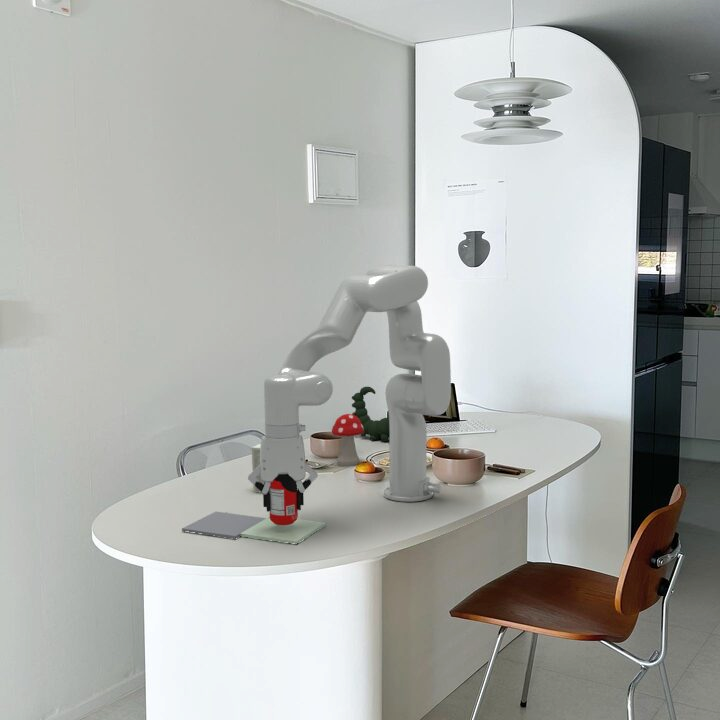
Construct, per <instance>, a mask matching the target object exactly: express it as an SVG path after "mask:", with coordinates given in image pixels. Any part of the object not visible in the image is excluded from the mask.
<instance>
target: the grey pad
mask: <svg viewBox="0 0 720 720" xmlns="http://www.w3.org/2000/svg"><path fill="white" fill-rule="evenodd" d="M266 518H267V517H261V516H260V517H259V516H252V515H246V514H237V513H232V512H231V513H230V512H222V511H213V512H212V513H210V514H208V515H206V516H204V517H202V518H200V519H198V520H196V521H193V522H192V523H190V524H188V525H185V526H184V527H182V528H181V532H182V531H189V532H195V533H202V534H207V535H215V536H220V537H226V538H225V539H227V538H233V539H232V540H234V539H236V538H238V537H239V538H241V537H240V533H242V532H244V531H245V530H247V529H249V528H251V527H252V526H254V525H256V524H258V523H259V522H261V521H263V520H265V519H266ZM207 535H206V536H207ZM220 537H219V538H220ZM239 538H238V539H239ZM236 540H237V539H236Z"/></svg>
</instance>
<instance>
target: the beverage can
mask: <svg viewBox="0 0 720 720" xmlns="http://www.w3.org/2000/svg"><path fill="white" fill-rule="evenodd" d="M297 489H298V487H297V484H296V481H295V480H294V479H293V478H292V477H291V476H289V473H278V476H277V477H276V478H274V479H273V481H272V482H270V487H269V494H270V511H269V517H270V520H271V521H272V522H273V523H274V524H276V525H290V524H293V523H294V522H295V521H296V520H297V519H298V518H299V517H298V515H299V513H298V511H299V510H298V509H297Z"/></svg>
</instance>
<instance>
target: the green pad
mask: <svg viewBox="0 0 720 720" xmlns="http://www.w3.org/2000/svg"><path fill="white" fill-rule="evenodd" d="M265 518H266V519H265V520H263V521H261V522H259V523H258V524H256V525H254V526H252V527H251V528H249V529H247V530H245V531H244V532H242V533H240V536H241V537H240V538H244V537H248V538H247V539H251V538H255V539H254V540H258V539H263V540H262V541H265V540H272V541H280V542H288V543H295V544H297V543H299V542H300V541H302V540H303V539H305V538H306V539H308V538H309V537H311V536H312V535H314V534H315V533H317V532H318V531H319V529H320V528H321V529H322V527H323V526H324V527H325V525H326V523H325V522H320V521H313V520H305V519H298V518H297V520H296V521H295V522H294V523H293V524H290V525H276V524H274V523H273V522H272V521H271V520H270V516H269V517H265ZM324 527H323V528H324ZM321 529H320V530H321ZM317 530H318V531H317ZM316 531H317V532H316ZM314 532H315V533H314ZM313 533H314V534H313ZM311 534H312V535H311ZM310 535H311V536H310ZM308 536H309V537H308ZM307 537H308V538H307ZM306 539H305V540H306ZM272 541H271V542H272ZM303 541H304V540H303ZM303 541H302V542H303ZM299 544H300V543H299Z"/></svg>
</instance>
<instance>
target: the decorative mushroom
mask: <svg viewBox="0 0 720 720" xmlns="http://www.w3.org/2000/svg"><path fill="white" fill-rule="evenodd" d="M362 433H364V428H363V425H362V423H361V421H360V420H359V418H358V417H356V416H355V415H352V413H345V414H342V415H341V416H339V417H338V418H337V419H336V420H335V422H334V424H333V425H332V429H331V434H332V435H333V436H336V437H340V438H341V442H340V448H339V449H340V450H339V453H338V457H337V458H336V462H337V464H338V466H341V467H350V466H355V465H358V464H359V460H360V458H359V456H358V452H357V448H356V443H355V437H357V436H361V434H362ZM357 463H358V464H357Z"/></svg>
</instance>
